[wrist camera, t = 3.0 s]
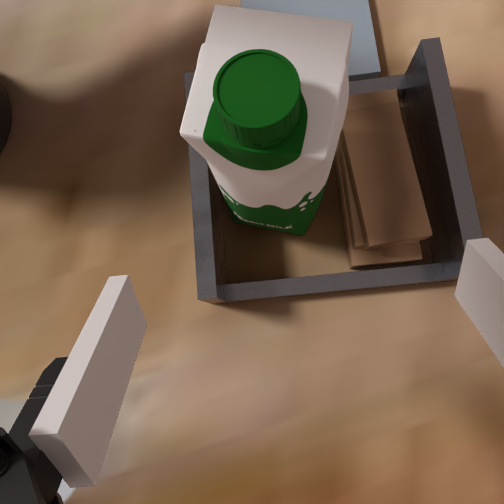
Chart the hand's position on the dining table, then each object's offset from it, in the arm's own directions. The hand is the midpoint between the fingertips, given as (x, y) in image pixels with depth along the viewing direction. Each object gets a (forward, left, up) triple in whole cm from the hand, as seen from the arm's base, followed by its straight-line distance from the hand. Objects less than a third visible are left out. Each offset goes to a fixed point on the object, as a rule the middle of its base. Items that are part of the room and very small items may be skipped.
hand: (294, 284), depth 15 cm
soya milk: (0, +11, -20) cm, 23 cm away
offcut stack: (+9, +11, -20) cm, 24 cm away
